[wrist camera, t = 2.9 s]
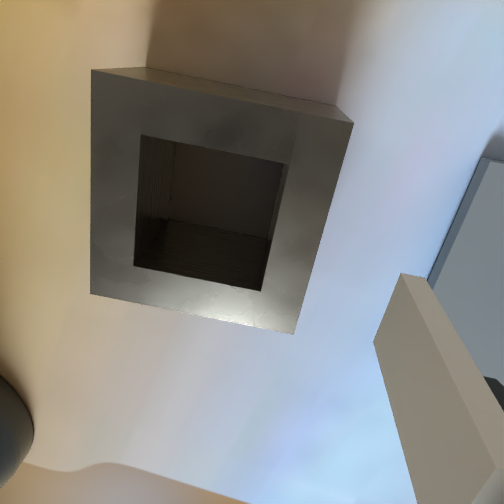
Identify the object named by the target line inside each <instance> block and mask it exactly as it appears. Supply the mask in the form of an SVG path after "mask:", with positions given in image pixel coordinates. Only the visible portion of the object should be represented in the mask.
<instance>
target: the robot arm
mask: <svg viewBox="0 0 504 504" xmlns="http://www.w3.org/2000/svg"><path fill="white" fill-rule="evenodd" d="M373 343H374V346H375V350H376V354H377V357H378V361H379V365H380V368H381V372H382V376H383V379H384V383H385V387H386V390H387V394H388V398H389V401H390V405H391V409H392V412H393V416H394V419H395V423H396V427H397V430H398V434H399V438H400V441H401V445H402V449H403V452H404V456H405V460H406V463H407V467H408V471H409V474H410V478H411V481H412V485H413V489H414V492H415V496H416V500H417V503H418V504H504V386H503V385H502V384H501V383H500V382H499V381H498V380H497V379H495V378H490V377H485V376H482V374H481V372H480V371H479V369H478V367H477V365H476V364H475V362H474V360H473V359H472V357H471V355H470V354H469V352H468V350H467V348H466V347H465V345H464V343H463V342H462V340H461V338H460V337H459V335H458V333H457V332H456V330H455V328H454V326H453V325H452V323H451V321H450V320H449V318H448V316H447V315H446V313H445V311H444V309H443V308H442V306H441V304H440V303H439V301H438V299H437V298H436V296H435V294H434V292H433V291H432V289H431V287H430V286H429V284H428V282H427V281H426V279H425V278H423V277H418V276H413V275H408V274H404V273H401V274H400V276H399V279H398V281H397V284H396V286H395V289H394V291H393V294H392V296H391V299H390V301H389V304H388V306H387V309H386V311H385V314H384V316H383V319H382V321H381V323H380V326H379V328H378V331H377V333H376V336H375V338H374V341H373ZM32 441H33V427H32V423H31V419H30V416H29V414H28V411H27V409H26V408H25V406H24V404H23V402H22V401H21V399H20V398H19V397H18V395H17V394H16V393H15V392H14V390H13V389H12V388H11V387H10V386H9V385H8V384H7V383H6V382H5V381H4V380H3V379H2V378H1V377H0V488H1V487H2V486H3V485H5V484H6V483H7V482H8V480H9V479H10V478H11V477H12V476H13V475H14V473H15V472H16V470H17V469H18V467H19V466H20V464H21V463H22V461H23V460H24V458H25V457H26V455H27V454H28V452H29V450H30V448H31V445H32Z"/></svg>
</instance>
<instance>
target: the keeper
mask: <svg viewBox="0 0 504 504" xmlns="http://www.w3.org/2000/svg"><path fill="white" fill-rule="evenodd" d="M427 282H428V284H429V286H430V287H431V289H432V291H433V292H434V294H435V296H436V298H437V299H438V301H439V303H440V304H441V306H442V308H443V309H444V311H445V313H446V315H447V316H448V318H449V320H450V321H451V323H452V325H453V326H454V328H455V330H456V332H457V333H458V335H459V337H460V338H461V340H462V342H463V343H464V345H465V347H466V348H467V350H468V352H469V354H470V355H471V357H472V359H473V360H474V362H475V364H476V365H477V367H478V369H479V371H480V372H481V374H482V376H485V377H490V378H495V379H497V380H498V381H499V382H500V383H501V384H502V385H503V386H504V161H499V160H494V159H489V158H484V157H482V158H481V160H480V162H479V165H478V167H477V169H476V171H475V174H474V176H473V178H472V181H471V183H470V185H469V187H468V190H467V192H466V194H465V197H464V199H463V201H462V203H461V206H460V208H459V210H458V213H457V215H456V217H455V219H454V222H453V224H452V226H451V228H450V231H449V233H448V235H447V238H446V240H445V242H444V244H443V247H442V249H441V251H440V254H439V256H438V258H437V260H436V263H435V265H434V267H433V270H432V272H431V274H430V276H429V279H428V281H427Z"/></svg>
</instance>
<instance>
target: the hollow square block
mask: <svg viewBox="0 0 504 504" xmlns="http://www.w3.org/2000/svg"><path fill="white" fill-rule="evenodd" d="M353 125H354V123H353V122H352V121H351V120H350V119H349V118H348V117H347V116H346V115H345V114H344V113H343V112H342V111H341V110H340V109H339V108H338V107H337V106H332V105H327V104H322V103H317V102H312V101H308V100H303V99H298V98H293V97H288V96H283V95H278V94H273V93H268V92H263V91H259V90H254V89H249V88H244V87H239V86H234V85H229V84H224V83H219V82H214V81H209V80H205V79H200V78H195V77H190V76H185V75H180V74H175V73H170V72H165V71H160V70H155V69H151V68H146V67H134V68H113V69H92V70H91V224H90V294H94V295H99V296H104V297H109V298H114V299H119V300H124V301H129V302H134V303H139V304H144V305H149V306H154V307H159V308H164V309H169V310H174V311H179V312H184V313H189V314H194V315H199V316H204V317H209V318H214V319H219V320H224V321H229V322H234V323H239V324H244V325H249V326H254V327H259V328H264V329H269V330H274V331H279V332H284V333H289V334H294V331H295V328H296V324H297V321H298V317H299V314H300V310H301V307H302V303H303V300H304V296H305V293H306V289H307V286H308V282H309V279H310V275H311V272H312V268H313V265H314V261H315V258H316V254H317V251H318V247H319V244H320V240H321V237H322V233H323V230H324V226H325V223H326V219H327V216H328V212H329V209H330V205H331V202H332V198H333V195H334V191H335V188H336V184H337V181H338V177H339V174H340V170H341V167H342V163H343V160H344V156H345V153H346V149H347V146H348V142H349V139H350V135H351V132H352V128H353ZM176 142H180V143H185V144H190V145H195V146H200V147H205V148H210V149H215V150H220V151H225V152H230V153H235V154H240V155H244V156H249V157H254V158H259V159H264V160H269V161H274V162H279V163H284V165H283V169H282V174H281V178H280V183H279V187H278V192H277V196H276V201H275V206H274V210H273V215H272V219H271V224H270V228H269V233H268V237H267V239H263V238H258V237H253V236H248V235H243V234H238V233H233V232H228V231H223V230H218V229H213V228H208V227H203V226H198V225H193V224H188V223H183V222H178V221H173V220H169V219H168V216H169V206H170V196H171V185H172V175H173V165H174V154H175V144H176Z"/></svg>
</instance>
